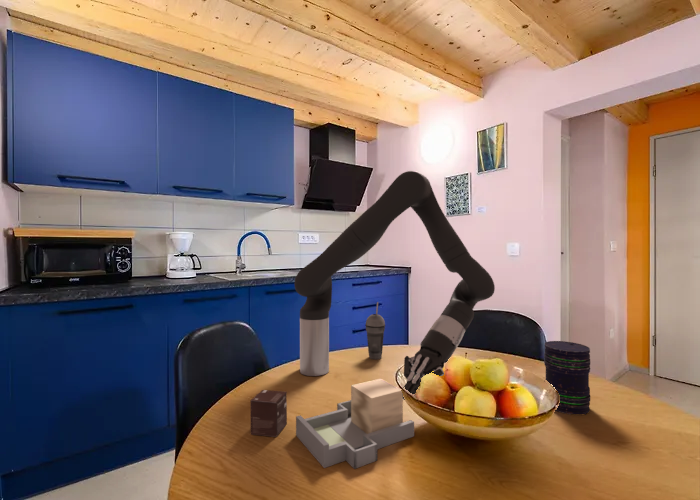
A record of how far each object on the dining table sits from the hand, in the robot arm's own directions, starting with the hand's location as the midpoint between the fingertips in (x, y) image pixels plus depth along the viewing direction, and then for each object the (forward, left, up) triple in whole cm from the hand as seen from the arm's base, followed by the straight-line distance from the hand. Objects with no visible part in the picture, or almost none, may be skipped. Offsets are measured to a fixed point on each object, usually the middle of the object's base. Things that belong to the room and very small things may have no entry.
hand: (404, 398), depth 82 cm
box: (-12, -28, -5) cm, 31 cm away
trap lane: (0, -13, -5) cm, 14 cm away
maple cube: (0, -8, -4) cm, 9 cm away
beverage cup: (-42, +21, -5) cm, 47 cm away
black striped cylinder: (+15, +39, -5) cm, 42 cm away
